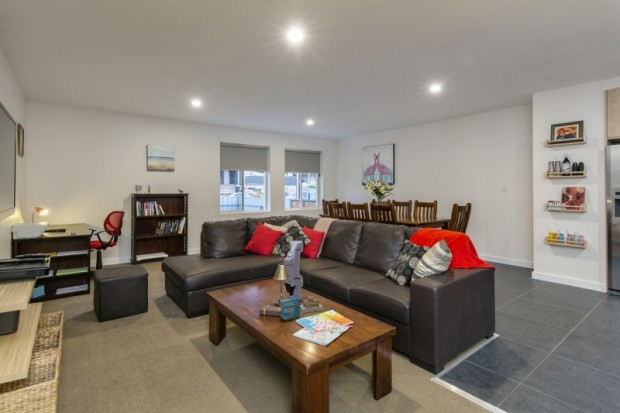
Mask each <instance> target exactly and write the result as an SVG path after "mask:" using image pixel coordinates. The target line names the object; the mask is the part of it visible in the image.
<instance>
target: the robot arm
mask: <svg viewBox="0 0 620 413" xmlns="http://www.w3.org/2000/svg"><path fill="white" fill-rule="evenodd" d="M288 245H289V251H288V252H287V254H286V257H284V259H283V265H285V266H286V270H287V273H288V275H289V279H288V280H284V281H283V284H284V286H285V290H286V293H288V294H289V298H294V297H296V298H298V299H299V300H302V301H303V300H304V298H303V297H302V287H303V285H304V280H303V279H304V278H303V275H301V274H300V265H301V264H300V262H301V253H302V252H303V251H304V241H303V240H289V242H288Z"/></svg>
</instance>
